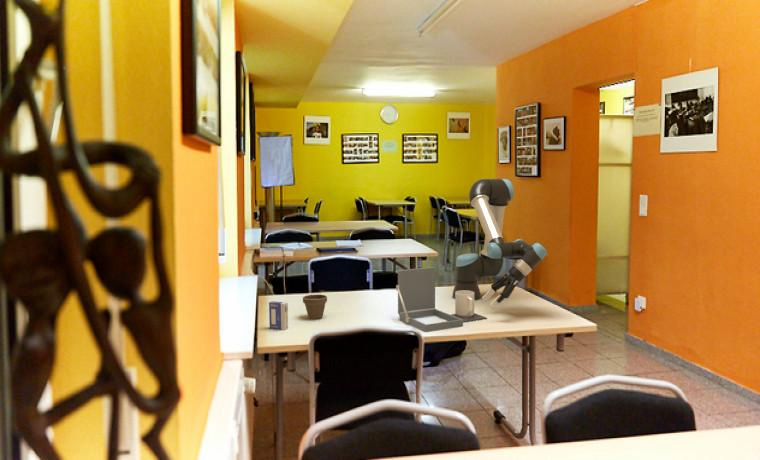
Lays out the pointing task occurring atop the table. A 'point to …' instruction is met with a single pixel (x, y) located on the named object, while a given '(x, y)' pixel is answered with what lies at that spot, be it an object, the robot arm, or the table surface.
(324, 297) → the flower pot
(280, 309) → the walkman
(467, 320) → the rubber mat
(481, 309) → the table surface
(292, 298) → the table surface
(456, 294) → the mug
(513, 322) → the table surface
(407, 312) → the equipment case
